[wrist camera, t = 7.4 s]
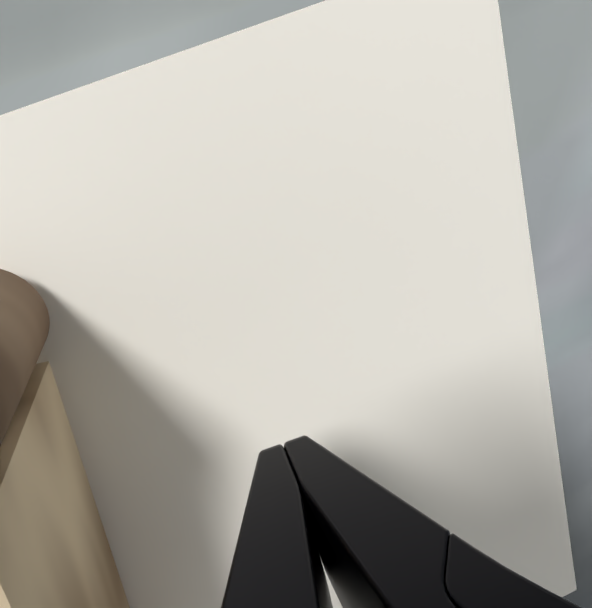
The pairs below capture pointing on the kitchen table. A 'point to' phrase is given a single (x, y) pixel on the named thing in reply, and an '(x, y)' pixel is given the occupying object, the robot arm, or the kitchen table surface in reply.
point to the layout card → (293, 283)
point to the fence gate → (44, 477)
